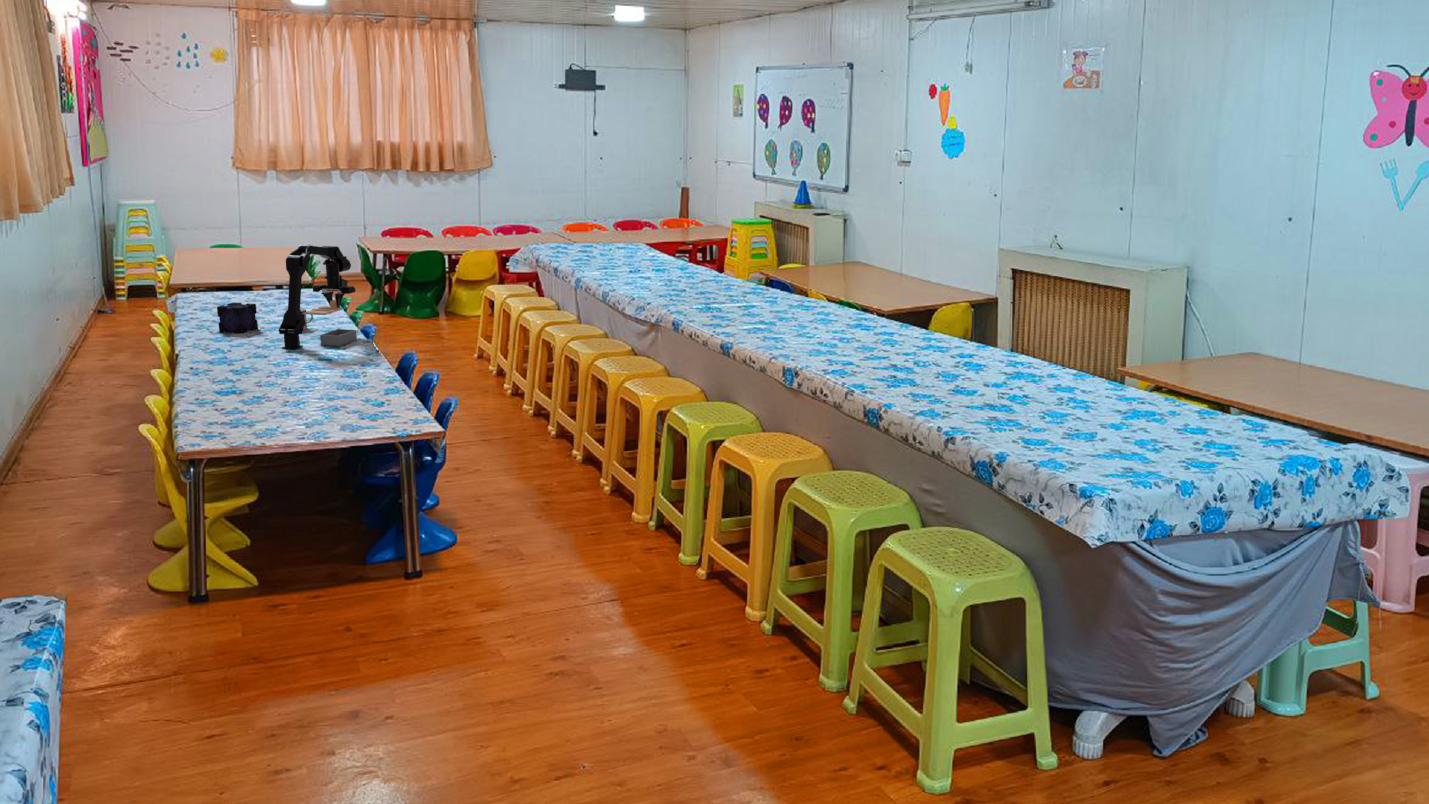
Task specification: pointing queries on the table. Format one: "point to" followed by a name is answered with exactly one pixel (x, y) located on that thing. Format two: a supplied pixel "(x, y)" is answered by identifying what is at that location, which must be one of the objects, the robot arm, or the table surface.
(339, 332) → the tub
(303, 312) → the teacup with lid
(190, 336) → the table surface
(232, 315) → the energy cube
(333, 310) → the lid
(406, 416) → the table surface
